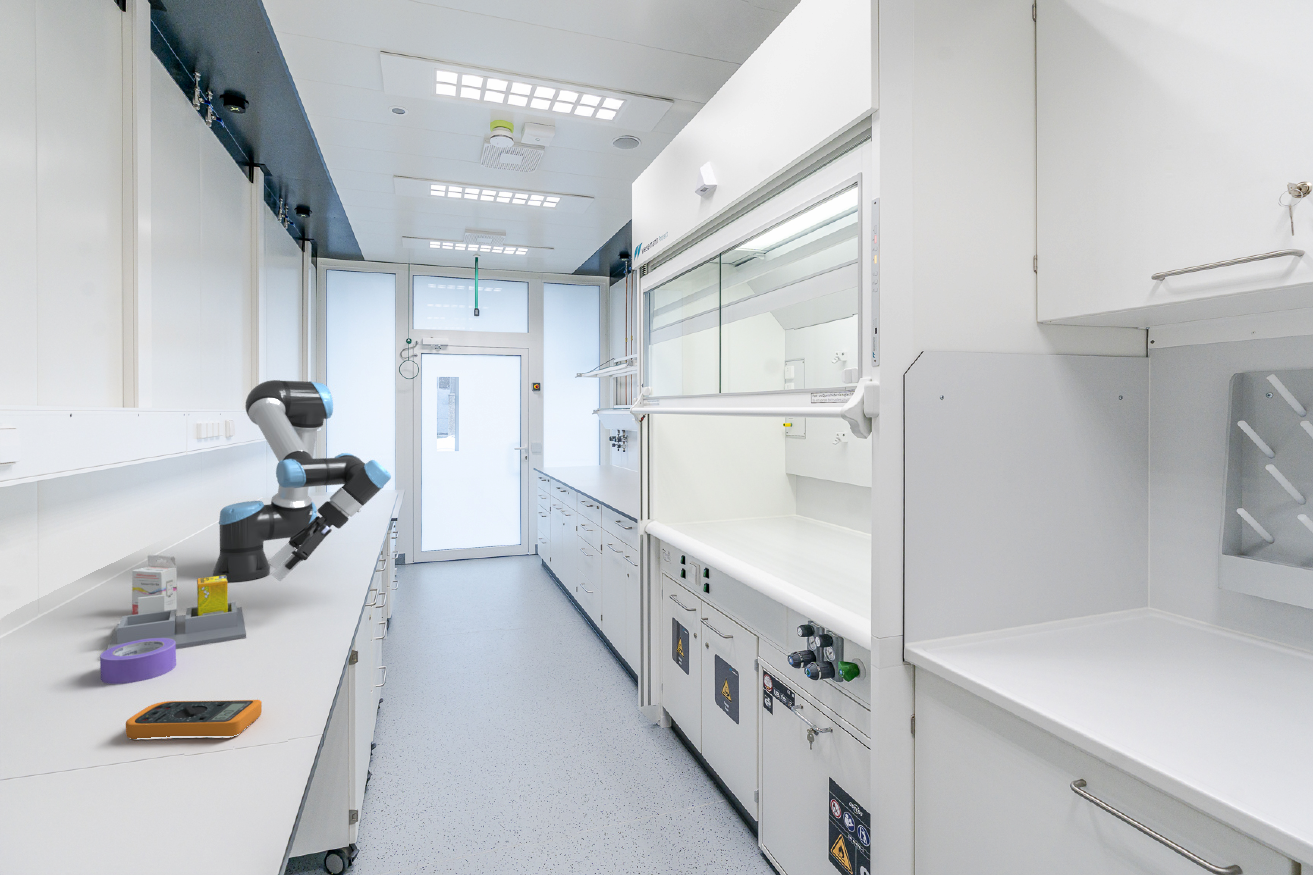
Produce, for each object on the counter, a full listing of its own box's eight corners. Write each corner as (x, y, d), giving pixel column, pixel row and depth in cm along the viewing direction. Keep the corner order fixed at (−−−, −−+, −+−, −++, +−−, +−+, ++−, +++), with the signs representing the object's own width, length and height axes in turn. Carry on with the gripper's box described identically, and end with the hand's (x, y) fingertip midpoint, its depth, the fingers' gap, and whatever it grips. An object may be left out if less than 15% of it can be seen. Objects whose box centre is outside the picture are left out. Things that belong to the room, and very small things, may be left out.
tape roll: (95, 689, 119) (94, 663, 119) (106, 668, 129) (105, 644, 129) (173, 676, 125) (173, 651, 125) (178, 657, 135) (178, 633, 135)
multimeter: (156, 718, 109) (156, 698, 109) (264, 716, 110) (264, 697, 110) (117, 744, 100) (117, 722, 100) (235, 741, 102) (235, 720, 102)
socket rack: (117, 627, 152) (117, 599, 152) (241, 610, 166) (241, 584, 166) (104, 660, 132) (103, 627, 132) (246, 637, 147) (245, 608, 147)
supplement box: (197, 622, 154) (196, 578, 153) (226, 618, 157) (226, 574, 157) (197, 629, 149) (197, 583, 149) (228, 624, 153) (227, 579, 152)
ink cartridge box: (130, 615, 161) (130, 558, 160) (148, 609, 166) (147, 554, 165) (161, 617, 160) (161, 560, 160) (178, 611, 165) (177, 555, 164)
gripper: (358, 526, 160) (290, 592, 152) (342, 511, 181) (281, 568, 173) (335, 506, 157) (264, 573, 149) (321, 493, 177) (259, 551, 170)
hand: (273, 571), depth 161 cm, fingers open, 13 cm apart
